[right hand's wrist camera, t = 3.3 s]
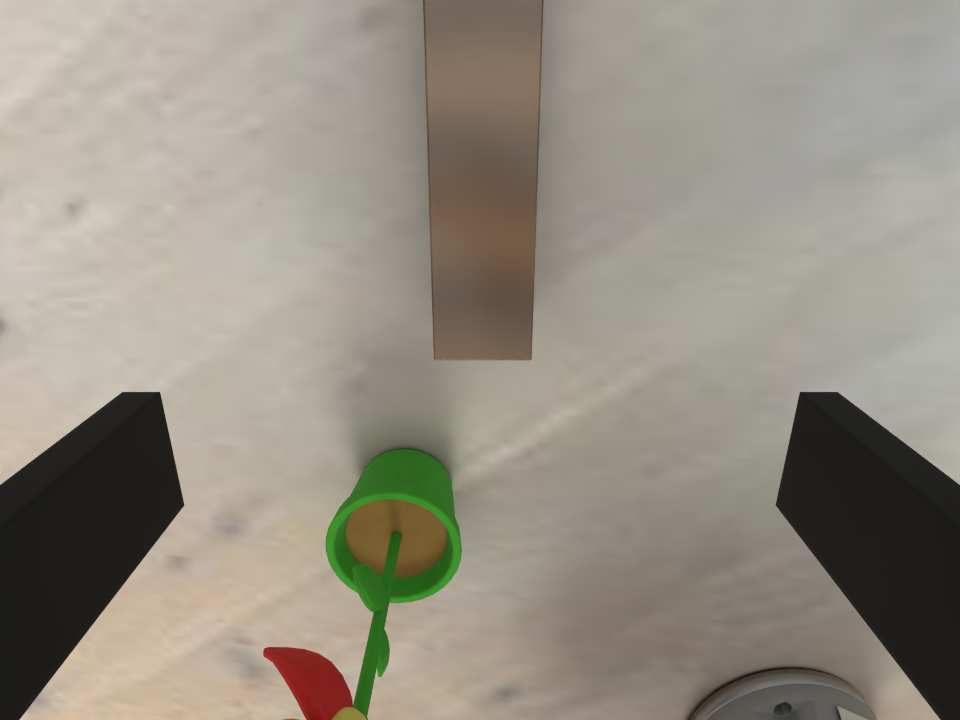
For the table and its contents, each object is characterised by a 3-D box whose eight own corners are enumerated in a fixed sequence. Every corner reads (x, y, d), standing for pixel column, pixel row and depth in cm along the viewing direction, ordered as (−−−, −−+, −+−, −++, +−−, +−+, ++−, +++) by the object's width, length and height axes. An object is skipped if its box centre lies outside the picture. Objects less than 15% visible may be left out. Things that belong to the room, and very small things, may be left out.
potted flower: (324, 453, 40) (105, 910, 17) (432, 412, 39) (359, 840, 16) (386, 560, 43) (275, 1071, 20) (488, 525, 42) (496, 1023, 19)
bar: (520, 310, 37) (531, 360, 29) (444, 310, 37) (433, 360, 29) (536, -293, 27) (559, -468, 19) (430, -293, 27) (409, -468, 19)
